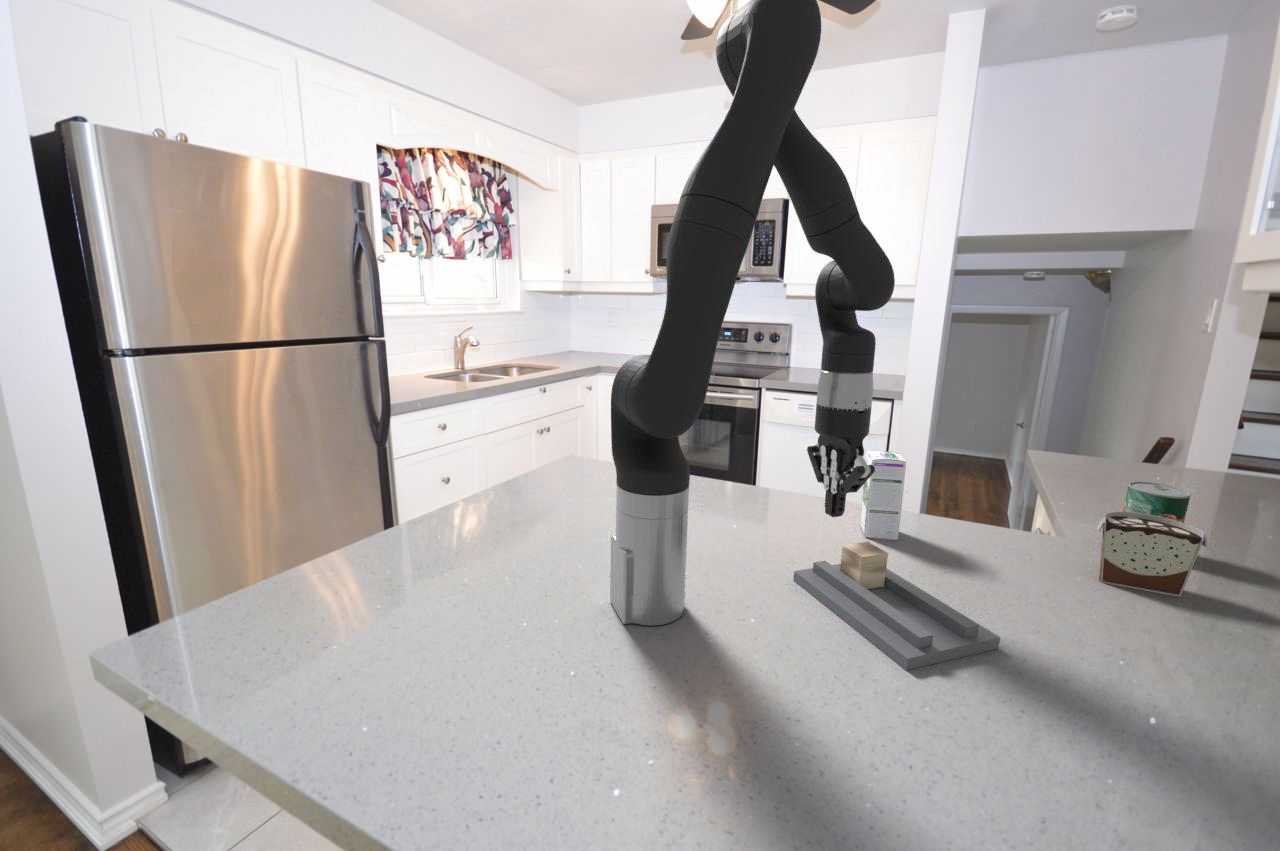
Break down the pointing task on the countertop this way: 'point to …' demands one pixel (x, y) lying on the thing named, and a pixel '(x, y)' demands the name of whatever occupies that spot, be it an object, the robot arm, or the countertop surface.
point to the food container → (1148, 552)
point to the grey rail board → (898, 617)
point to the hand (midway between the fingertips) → (834, 514)
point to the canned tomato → (1157, 500)
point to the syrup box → (883, 496)
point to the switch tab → (864, 564)
